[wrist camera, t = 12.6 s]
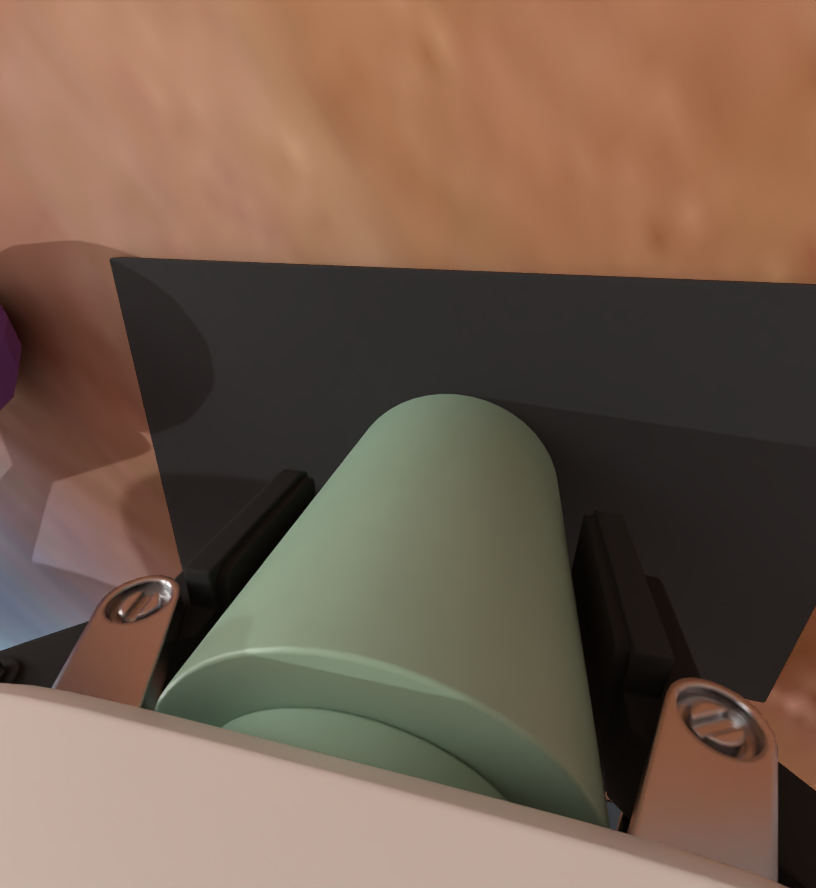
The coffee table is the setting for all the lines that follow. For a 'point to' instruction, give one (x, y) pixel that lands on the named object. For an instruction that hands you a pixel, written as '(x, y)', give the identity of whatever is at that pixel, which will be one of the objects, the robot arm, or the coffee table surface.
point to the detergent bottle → (419, 618)
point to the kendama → (8, 358)
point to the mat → (513, 410)
